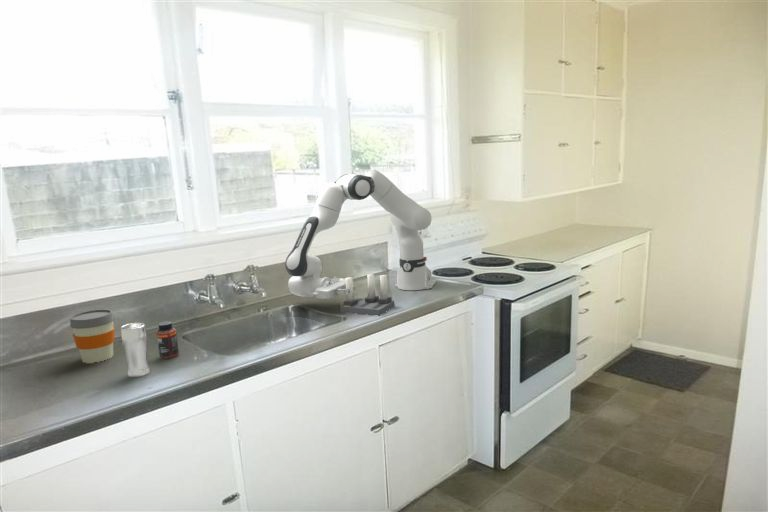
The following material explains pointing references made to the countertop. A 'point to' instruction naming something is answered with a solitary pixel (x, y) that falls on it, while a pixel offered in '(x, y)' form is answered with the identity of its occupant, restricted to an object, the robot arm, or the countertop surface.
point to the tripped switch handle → (350, 296)
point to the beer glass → (135, 348)
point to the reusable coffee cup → (93, 334)
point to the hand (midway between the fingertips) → (351, 290)
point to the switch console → (372, 299)
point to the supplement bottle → (167, 340)
